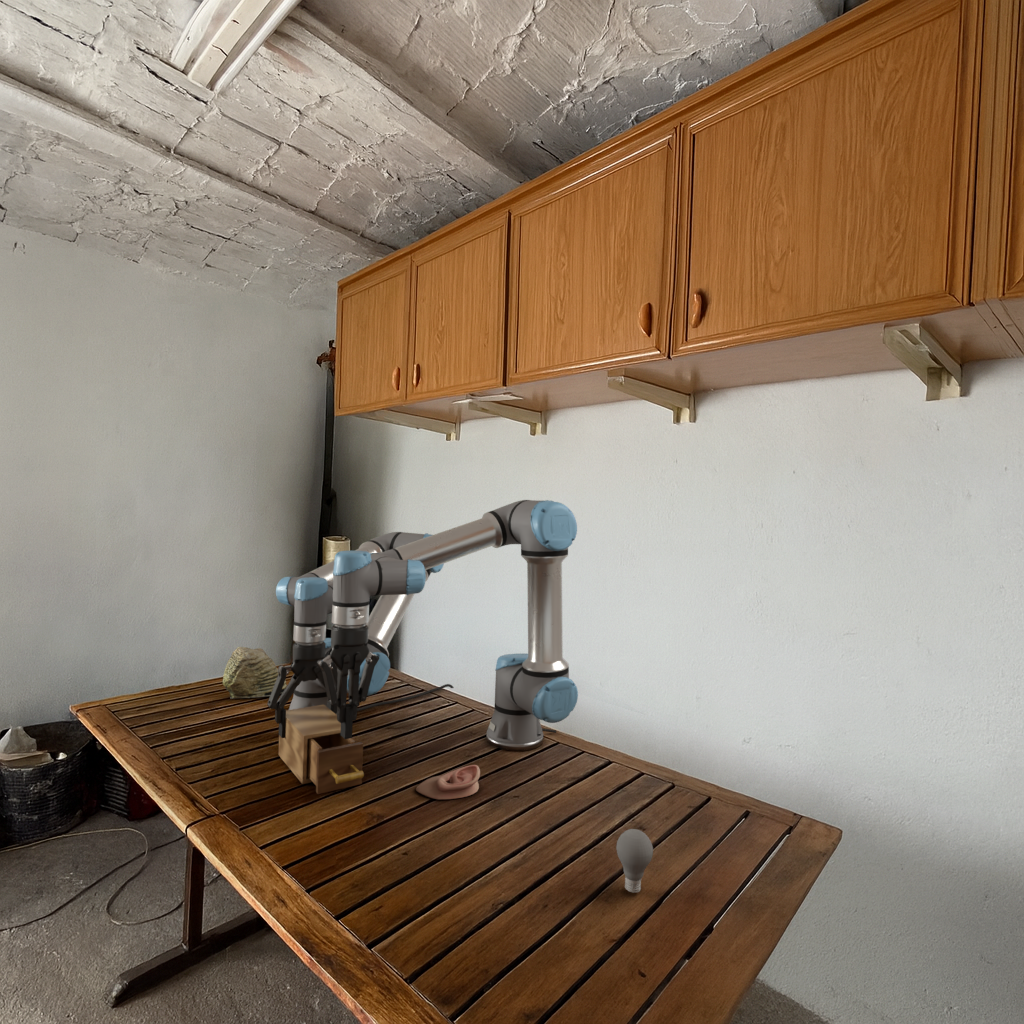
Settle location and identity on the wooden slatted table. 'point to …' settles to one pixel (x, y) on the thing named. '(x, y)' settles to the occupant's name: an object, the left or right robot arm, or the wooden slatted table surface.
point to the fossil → (250, 674)
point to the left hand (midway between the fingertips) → (306, 731)
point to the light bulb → (634, 857)
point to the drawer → (334, 762)
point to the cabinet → (305, 736)
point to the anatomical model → (452, 784)
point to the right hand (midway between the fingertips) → (346, 736)
